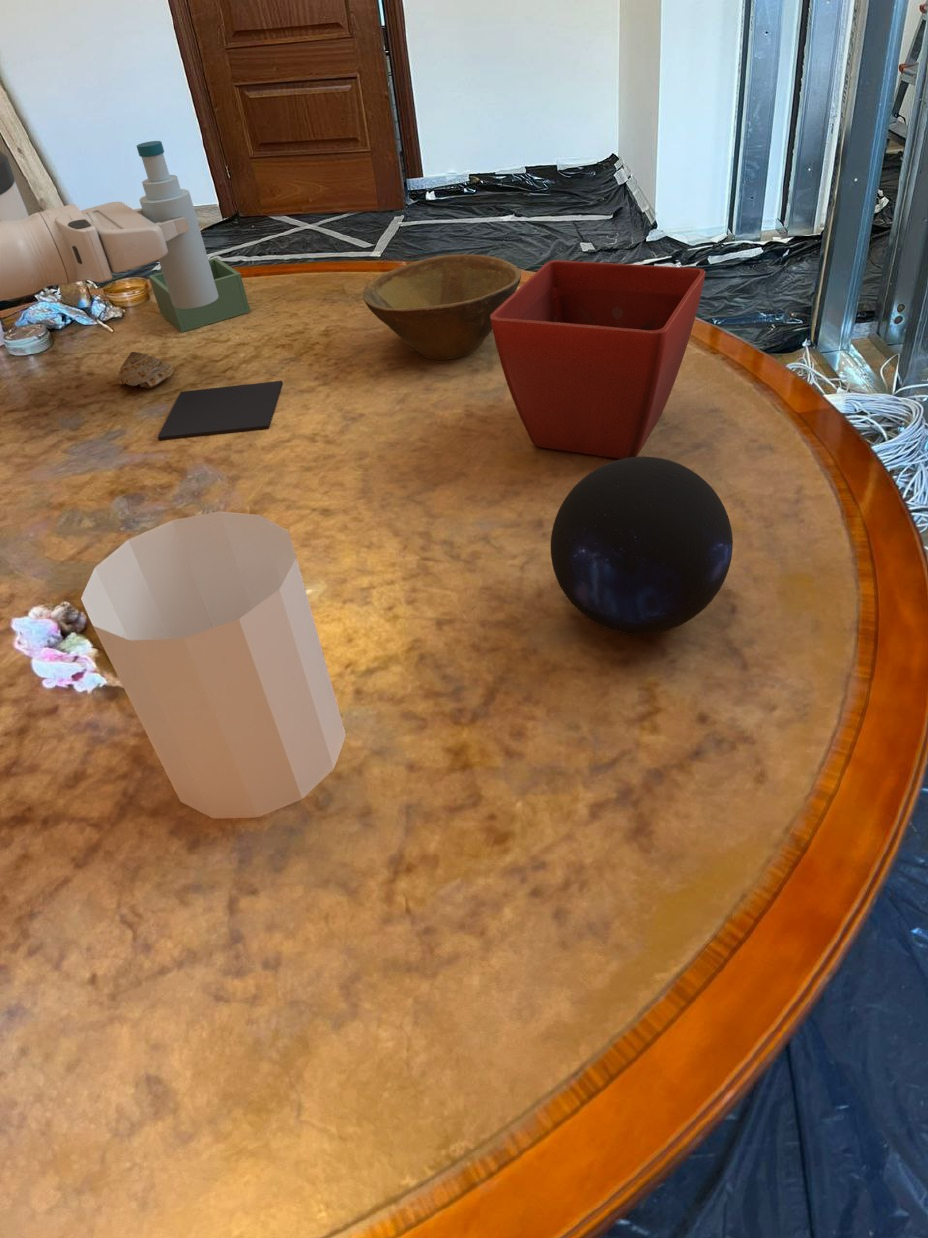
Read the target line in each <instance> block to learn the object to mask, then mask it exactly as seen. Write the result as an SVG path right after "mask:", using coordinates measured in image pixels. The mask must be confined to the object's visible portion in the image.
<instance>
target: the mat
mask: <svg viewBox="0 0 928 1238" xmlns="http://www.w3.org/2000/svg"><path fill="white" fill-rule="evenodd" d="M282 387H283V380H275V381H266V382H256V383H247V384H237V385H229V386H221V387H211V388H202V389H193V390H184V391H180V393H179V394H178V396H177V399H175V402H174V404H173V406H172V408H171V409H170V412H169V414H168V415H167V417H166V419H165V422H164V423H163V426H162V428H161V430H160V431H159V434H158V435H157V440H158V441H165V440H174V439H183V438H193V437H194V438H195V437H202V436H210V435H211V436H212V435H221V434H232V433H239V432H248V431H250V432H251V431H259V430H268V429H270V427H271V423H272V420H273V416H274V414H275V413H274V412H275V409H276V408H277V407H276V406H277V404H278V400H279V397H280V394H281V390H282Z"/></svg>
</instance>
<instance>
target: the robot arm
mask: <svg viewBox="0 0 928 1238" xmlns="http://www.w3.org/2000/svg"><path fill="white" fill-rule="evenodd" d="M9 160H10V159H9V157H8V156H7V155H6V154H5V153H4V152H2V151H1V150H0V302H2V301H3V302H4V301H6V302H15V301H20V300H23V299H27V298H31V297H35V296H37V295H40V294H41V293H42V292H43V291H44V290H43V289H45V288H47V287H51V286H67V285H72V284H76V283H79V282H86V281H89V282H94V283H105V282H108V281H111V280H112V279H114V276H113V273H114V274H118V273H123V272H128V271H130V270H133V269H136V268H140V267H143V266H145V265H148V264H151V263H154V262H156V261H159V259H161V258H163V257H164V256H165V255H167V253H168V249H167V246H166V242H165V241H169V240H170V239H172V238H174V237H175V236H177V235H179V234H183V233H186V232H188V231H189V225H188V222H187V220H186V219H185V218H183V217H181V216H179V217H175V218H171V219H170V220H169V221H166V222H162V223H160V222H158V223H153V222H152V221H150V220H149V219H147V218H145V216H144V213H143V210H142V207H139V208H135V209H134V208H132V207H130V206H129V205H127V204H126V203H124V202H122V201H111V202H107V203H104V204H100V205H95V206H92V207H88V208H85V209H82V210H80V208H79V207H78V205H76V204H75V203H72V204H68V205H63V206H59V207H54V208H51V209H46V210H42V211H38V212H37V211H36V212H35V213H33V214H31V215H29V212H28V209H27V207H26V205H25V203H24V200H23V198H22V195H21V192H20V190H19V187H18V184H17V183H16V179H15V175H14V172H13V169H12V166H11V163H10V161H9Z"/></svg>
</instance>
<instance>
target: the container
mask: <svg viewBox="0 0 928 1238" xmlns="http://www.w3.org/2000/svg"><path fill="white" fill-rule="evenodd" d="M80 600H81V602H82V604H83V606H84V609H85V612H86V614H87V616H88V618H89V620H90V623H91V625H92V627H93V629H94V631H95V633H96V636H97V637H98V639H99V641H100V643H101V645H102V647H103V649H104V652H105V653H106V655H107V657H108V659H109V662H110V663H111V666H112V667H113V670H114V671H115V673H116V676H117V678H118V679H119V681H120V683H121V685H122V688H123V690H124V691H125V694H126V695H127V697H128V699H129V702H130V703H131V706H132V708H133V709H134V711H135V714H136V716H137V717H138V719H139V722H140V724H141V725H142V728H143V730H144V732H145V734H146V735H147V738H148V740H149V741H150V743H151V746H152V748H153V750H154V752H155V753H156V755H157V758H158V759H159V761H160V763H161V766H162V768H163V769H164V772H165V773H166V776H167V778H168V780H169V781H170V784H171V786H172V788H173V789H174V792H175V794H176V795H177V798H178V800H179V802H180V803H182V804H184V805H185V806H188V807H189V808H192V809H194V810H196V811H197V812H200V813H202V814H204V815H205V816H208V817H210V818H211V819H246V818H248V819H249V818H260V817H262V816H265V815H267V814H270V813H273V812H275V811H277V810H279V809H283V808H284V807H287V806H289V805H292V804H294V803H297V802H299V801H302V800H303V799H304V798H305V797H306V796H308V795H309V793H311V792H312V791H313V790H314V789H315V788H316V787H317V786H318V785H320V783H321V782H322V781H323V780H324V779H325V778H327V777H328V776H329V774H330V773H332V772H333V771H334V770H335V768H336V764H337V762H338V759H339V756H340V754H341V751H342V748H343V746H344V743H345V741H346V738H347V733H346V731H345V726H344V723H343V720H342V716H341V712H340V709H339V704H338V701H337V698H336V694H335V691H334V687H333V683H332V679H331V676H330V672H329V669H328V665H327V662H326V658H325V655H324V651H323V647H322V644H321V640H320V637H319V633H318V630H317V626H316V623H315V622H316V621H315V618H314V616H313V615H314V614H313V611H312V608H311V604H310V601H309V597H308V593H307V590H306V587H305V583H304V579H303V575H302V571H301V567H300V565H299V561H298V557H297V554H296V551H295V547H294V544H293V540H292V537H291V534H290V530H288V529H286V528H284V527H283V526H281V525H279V524H277V523H276V522H274V521H272V520H270V519H268V518H267V517H265V516H264V515H262V514H252V513H242V512H232V511H231V512H230V511H220V510H219V511H214V512H208V513H202V514H197V515H192V516H185V517H181V518H175V519H171V520H170V521H167V522H165V523H163V524H160V525H157V526H156V527H153V528H151V529H149V530H147V531H145V532H142V533H140V534H138V535H136V536H133V537H131V538H129V539H127V540H126V541H125V542H123V543H122V544H121V545H120V546H119V547H118V548H116V549H115V550H114V551H113V552H111V554H109V555H107V557H106V558H104V559H103V560H102V561H100V562H99V563H98V564H97V565H96V566H94V568H93V570H92V572H91V574H90V577H89V579H88V581H87V584H86V585H85V588H84V590H83V593H82V595H81V597H80Z"/></svg>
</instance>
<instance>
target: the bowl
mask: <svg viewBox="0 0 928 1238" xmlns="http://www.w3.org/2000/svg"><path fill="white" fill-rule="evenodd" d="M521 279H522V272H521V270H520V269H519V268H518V266H516V265H515V264H513V263H512V262H510V261H507V260H505V259H502V258H499V257H496V256H492V255H486V254H485V255H484V254H475V253H474V254H473V253H469V254H468V253H467V254H464V253H463V254H444V255H438V256H433V257H428V258H425V259H421V260H417V261H413V262H410V263H407V264H404V265H401V266H399V267H395V268H392V269H391V270H390V271H385V272H382V273H381V274H379V275H377V276H375V277H374V278H372V279H371V280H369V281H368V283H366V285H365V287H364V289H363V291H362V299H363V302H364V303H365V305H366V307H367V308H368V309H369V311H371V312H372V314H374V315H375V317H377V318H378V320H380V321H381V322H382V323H383V324H384V325H386V326H387V327H388V328H390V330H392V331H393V333H395V334H396V335H397V336H398V337H399V338H400V339H401V340H403V341H404V342H405V343H406V344H408V345H409V346H410V347H411V348H412V349H413V350H415V351H416V353H418V354H420V355H422V356H423V357H424V358H426V359H429V360H436V361H437V360H438V361H440V360H442V361H444V360H446V361H447V360H452V359H459V358H462V357H465V356H468V355H470V354H471V353H472V354H473V353H474V352H475V351H477V350H478V348H480V346H481V345H482V344H483V342H484V341H485V339H486V338H487V337H488V336H489V334H490V333H491V332H492V331H493V330H492V325H491V319H490V315H491V314H492V313H493V312H494V311H495V310H496V309H497V308H498V307H499V306H501V305H502V304H503V303H504V302H505V301H506V300H507V299H508V298H509V297H510V296H511V295H513V294H514V293H515V292H516V291H517V290H518V287H519V285H520V283H521Z"/></svg>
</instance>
